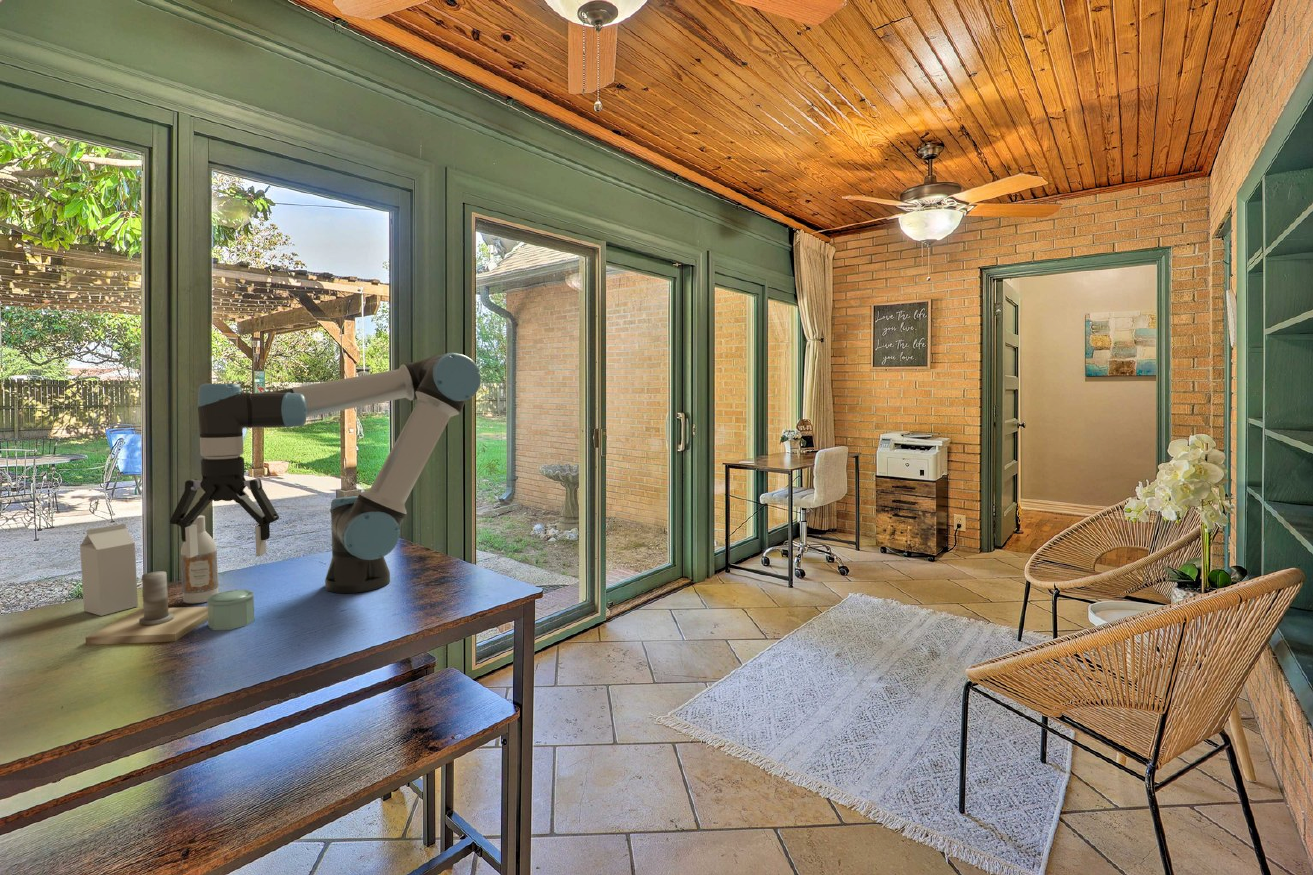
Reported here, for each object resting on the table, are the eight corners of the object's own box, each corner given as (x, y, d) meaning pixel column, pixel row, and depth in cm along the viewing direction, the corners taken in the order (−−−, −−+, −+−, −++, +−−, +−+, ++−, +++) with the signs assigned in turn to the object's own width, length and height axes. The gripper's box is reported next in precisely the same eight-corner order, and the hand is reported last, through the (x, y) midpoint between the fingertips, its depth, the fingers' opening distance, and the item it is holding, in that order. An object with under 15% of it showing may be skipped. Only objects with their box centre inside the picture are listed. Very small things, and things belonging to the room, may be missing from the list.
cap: (261, 615, 140) (260, 589, 139) (242, 629, 132) (241, 601, 131) (221, 616, 139) (220, 590, 138) (199, 631, 130) (198, 603, 130)
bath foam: (181, 606, 145) (177, 520, 143) (184, 597, 151) (179, 515, 149) (218, 600, 149) (214, 517, 147) (219, 592, 155) (215, 512, 153)
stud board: (219, 612, 141) (217, 562, 140) (175, 641, 125) (172, 584, 124) (140, 615, 139) (137, 564, 138) (85, 644, 123) (82, 587, 122)
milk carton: (138, 606, 144) (134, 525, 143) (100, 616, 138) (95, 531, 136) (121, 601, 147) (117, 522, 146) (83, 611, 141) (78, 528, 139)
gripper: (293, 454, 138) (297, 549, 139) (169, 455, 134) (174, 552, 136) (277, 458, 130) (281, 558, 132) (145, 459, 127) (151, 561, 129)
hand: (227, 555), depth 134 cm, fingers open, 13 cm apart
